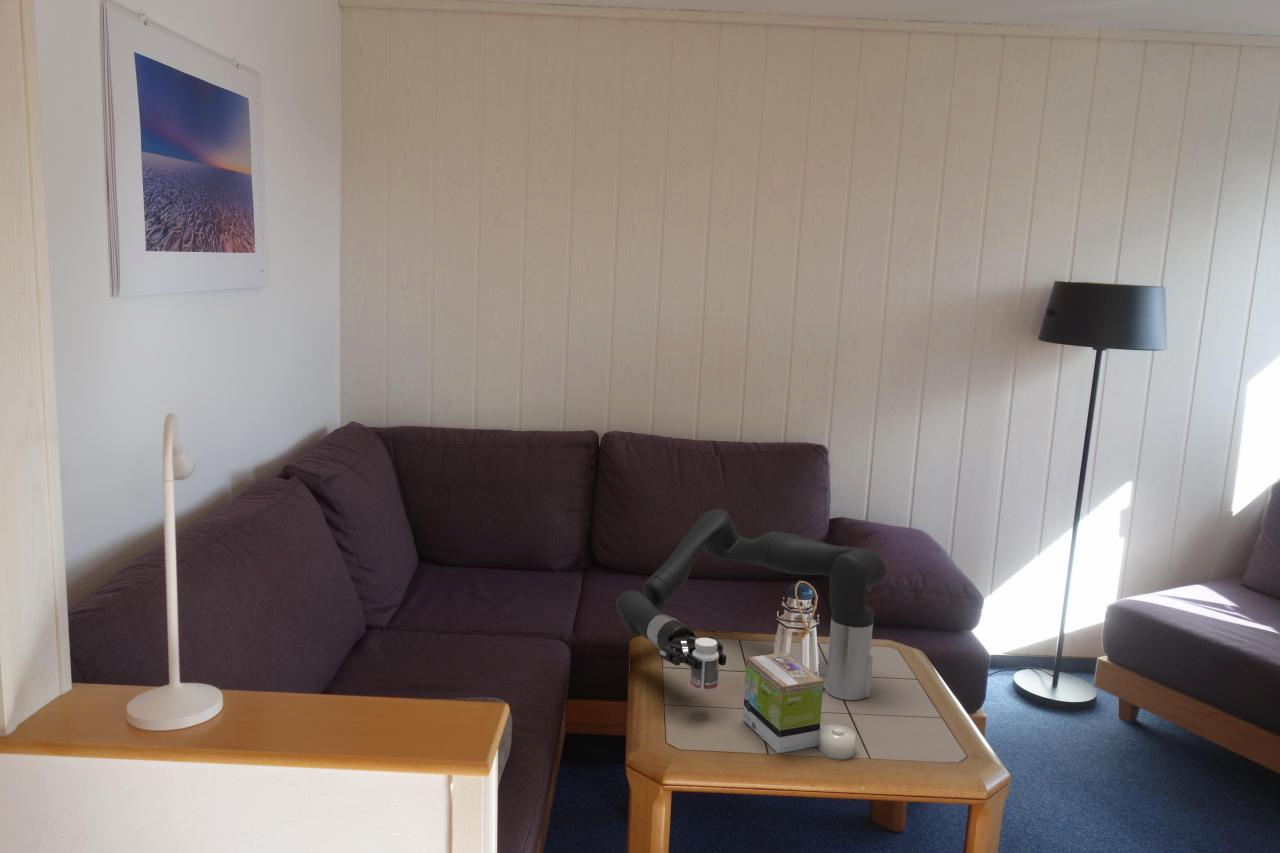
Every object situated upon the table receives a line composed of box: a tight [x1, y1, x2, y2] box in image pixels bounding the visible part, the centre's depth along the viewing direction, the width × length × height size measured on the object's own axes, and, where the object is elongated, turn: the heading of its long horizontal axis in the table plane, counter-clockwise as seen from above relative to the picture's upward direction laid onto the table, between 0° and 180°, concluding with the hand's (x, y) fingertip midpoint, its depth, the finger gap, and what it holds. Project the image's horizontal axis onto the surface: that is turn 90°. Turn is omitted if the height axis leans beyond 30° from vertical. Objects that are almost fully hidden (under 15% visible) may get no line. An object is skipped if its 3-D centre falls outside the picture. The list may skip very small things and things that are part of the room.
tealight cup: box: [818, 723, 857, 761], centre depth 198 cm, size 7×7×5 cm
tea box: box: [742, 651, 824, 754], centre depth 203 cm, size 15×10×15 cm, turn 23°
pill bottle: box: [690, 637, 720, 692], centre depth 209 cm, size 6×6×10 cm
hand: (711, 663), depth 207 cm, fingers closed on pill bottle, 5 cm apart
